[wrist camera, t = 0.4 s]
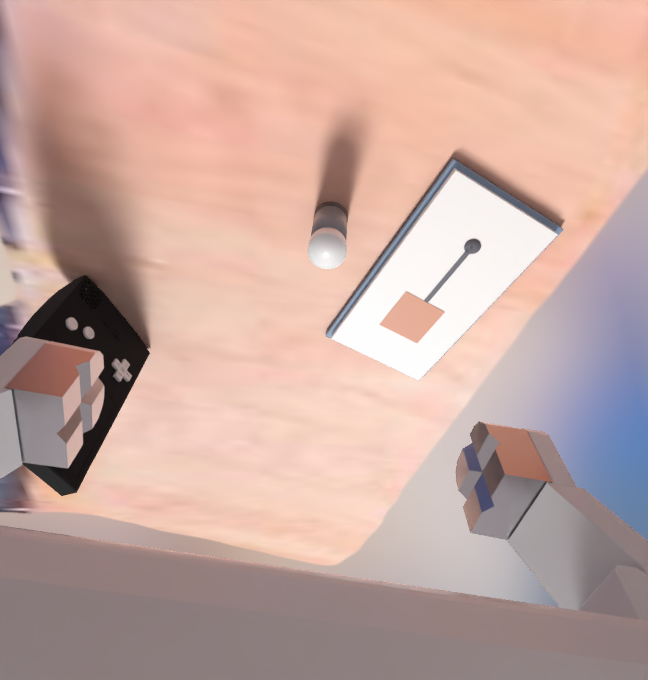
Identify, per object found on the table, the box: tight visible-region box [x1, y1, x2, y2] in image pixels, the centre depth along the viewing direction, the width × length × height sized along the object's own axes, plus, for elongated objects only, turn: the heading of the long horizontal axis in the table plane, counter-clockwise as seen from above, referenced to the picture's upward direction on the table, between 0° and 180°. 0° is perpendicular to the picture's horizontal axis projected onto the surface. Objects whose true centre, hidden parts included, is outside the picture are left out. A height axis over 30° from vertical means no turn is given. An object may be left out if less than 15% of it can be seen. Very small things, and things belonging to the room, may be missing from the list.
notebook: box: [326, 158, 563, 380], centre depth 52 cm, size 23×13×1 cm, turn 151°
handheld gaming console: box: [12, 276, 150, 496], centre depth 50 cm, size 12×5×20 cm, turn 24°
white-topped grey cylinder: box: [308, 202, 347, 269], centre depth 45 cm, size 3×3×7 cm
